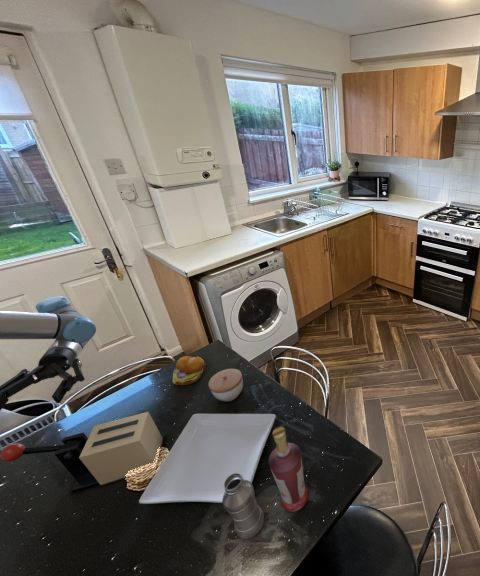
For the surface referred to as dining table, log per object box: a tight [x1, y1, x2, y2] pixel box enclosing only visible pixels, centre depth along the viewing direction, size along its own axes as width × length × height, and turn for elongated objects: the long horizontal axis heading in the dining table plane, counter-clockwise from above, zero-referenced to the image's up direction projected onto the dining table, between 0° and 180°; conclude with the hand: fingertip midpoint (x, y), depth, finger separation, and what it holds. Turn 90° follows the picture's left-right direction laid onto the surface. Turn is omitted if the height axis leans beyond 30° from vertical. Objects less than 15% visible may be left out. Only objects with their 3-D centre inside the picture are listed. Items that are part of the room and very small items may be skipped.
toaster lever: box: [0, 440, 81, 462], centre depth 79 cm, size 14×4×4 cm, turn 113°
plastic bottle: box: [221, 473, 265, 540], centre depth 72 cm, size 6×7×20 cm
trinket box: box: [208, 368, 244, 402], centre depth 111 cm, size 11×11×9 cm
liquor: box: [268, 426, 309, 513], centre depth 75 cm, size 7×7×28 cm
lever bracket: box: [54, 432, 100, 493], centre depth 85 cm, size 6×9×14 cm, turn 22°
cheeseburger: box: [172, 355, 205, 386], centre depth 119 cm, size 10×11×10 cm
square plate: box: [138, 413, 277, 505], centre depth 91 cm, size 27×27×4 cm
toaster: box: [79, 411, 165, 487], centre depth 88 cm, size 13×10×13 cm
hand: (23, 407), depth 82 cm, fingers open, 13 cm apart
